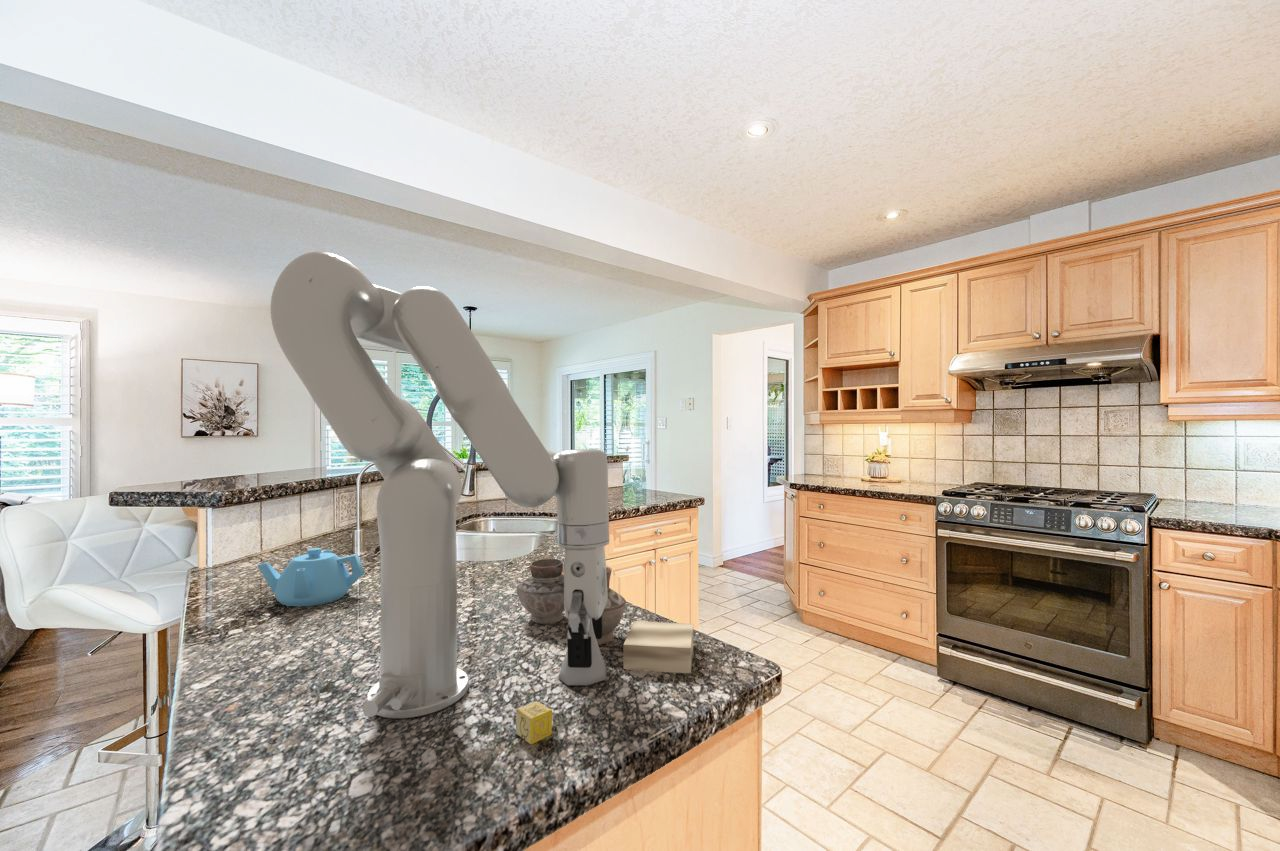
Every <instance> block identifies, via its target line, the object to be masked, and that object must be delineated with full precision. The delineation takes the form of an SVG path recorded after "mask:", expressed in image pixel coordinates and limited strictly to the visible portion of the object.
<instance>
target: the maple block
mask: <svg viewBox="0 0 1280 851" xmlns="http://www.w3.org/2000/svg"><path fill="white" fill-rule="evenodd" d="M622 646H623V650H622V651H623V659H622V660H623V669H622V670H624V669H627V670H626V671H641V670H647V671H646V672H658V671H660V673H673V674H674V673H675V674H676V673H677V674H679V673H680V674H691V673H692V665H693V664H692V663H693V654H694V623H688V622H687V623H685V622H662V621H661V622H660V621H644V620H643V621H642V620H641V621H640V620H633V621H632V624H631V626H630V629H629V631H628V634H627V636H626V638H625V641H624V643H623V645H622Z"/></svg>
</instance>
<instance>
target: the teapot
mask: <svg viewBox="0 0 1280 851" xmlns="http://www.w3.org/2000/svg"><path fill="white" fill-rule="evenodd" d="M322 551H323V552H322ZM332 551H333V550H332V549H324V550H323V548H321V547H313V548H307V550H306V553H307V554H302V555H298V556H295V557H293V558H292V559H290V561H289V562H288V564H286V567H285V568H284V569H283V571H281V574H280V573H279V572H278V571H277V570H276V569H275V568H274V567H273V566H272V565H271V564H270V563H269V562H263V563H259V564H258V565H257V567H258V569H259V570H260V572H261V574H262V576H263V577H264V579H265V581H266V583H267V584H268V586H269V588H270V589H271V591H272V593H273V594H274V597H275V600H276V601H278V603H280V604H281V605H283V606H284V605H286V606H285V607H288V606H307V607H313V606H314V605H315V606H319V605H320V606H321V605H324V604H329V603H332V602H335V601H337V600H340V599H342V598H343V597H344V596H345V595H346V594H347V592H349V590H350V589H351V587H352V585H353V584H355V583H356V582H357V581H358V580H359V579H360V578H361V577H362V576H363V575H365V574H366V573H365V570H364V566H363V565H362V561H361V559H360V556H359V554H358V553H355V554H351V555H346V556H342V557H339V556H338V555H337V554H336V553H334V552H332ZM346 563H349V565H350V569H351V571H352V573H351V574H350V572H349V571H348V568H347V566H346V565H345V564H346ZM341 597H342V598H341Z"/></svg>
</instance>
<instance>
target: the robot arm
mask: <svg viewBox="0 0 1280 851" xmlns="http://www.w3.org/2000/svg"><path fill="white" fill-rule="evenodd" d="M270 298H271V299H270V319H271V324H272V329H273V331H274V336H275V338H276V340H277V343H278V344H279V347H280V348H281V351H282V352H283V354H284V356H285V358H286V359H287V361H288V363H289V364H290V366H291V368H292V369H293V371H294V372H295V373H296V374H297V377H298V378H299V380H300V381H301V383H302V384H303V385H304V386H305V388H306V390H307V391H308V393H309V395H310V397H311V399H312V400H313V401H314V404H315V405H316V406H317V408H318V410H320V412H321V414H322V415H323V417H324V418H325V420H326V421H327V423H328V424H329V425H330V427H331V428H332V430H333V432H334V434H335V435H336V437H337V438H338V440H339V442H340V444H341V445H342V447H343V448H344V449H345V450H346V451H347V453H348V454H350V455H352V457H355V458H356V459H359V460H361V461H363V462H370V463H373V465H374V467H375V468H376V469H377V471H378V472H379V474H380V475H381V477H382V478H383V481H382V483H381V485H380V487H379V490H378V494H377V498H376V499H377V500H376V519H377V527H378V528H377V530H378V538H379V540H378V541H379V554H380V555H379V560H380V562H379V563H380V567H379V568H380V571H379V573H380V575H379V577H380V581H379V582H380V648H379V649H380V655H379V656H380V658H379V659H380V663H379V664H380V665H379V666H380V667H379V668H380V669H379V670H380V672H379V673H380V674H379V677H378V682H377V683H376V684H374V685H373V686H371V689H370V690H369V691H368V693H367V695H366V701H365V702H363V705H362V712H363V714H364V715H365V716H366V717H369V718H372V717H375V716H379V717H381V718H386V719H409V718H415V717H422V716H427V715H429V714H433V713H435V712H439V711H441V710H444V709H446V708H448V707H450V706H452V705H453V704H455V703H457V702H458V701H459V700H461V699H462V698H463V697H464V695H465V694H466V693H467V692H468V689H469V681H470V680H469V679H470V678H469V675H468V674H467V673H466V672H465V671H464V670H462V669H460V668H458V574H457V573H458V568H457V566H458V565H457V563H458V562H457V561H458V558H457V557H458V555H457V554H458V553H457V551H458V550H457V505H458V504H459V502H460V500H461V497H462V493H463V483H462V479H461V475H460V473H459V471H458V470H457V468H456V466H455V464H454V463H453V461H452V460H451V458H450V457H449V455H448V454H447V452H446V451H445V449H444V448H443V446H442V445H441V443H440V441H439V440H438V439H437V437H436V435H435V434H434V432H433V431H432V429H431V428H430V427H429V425H428V423H427V422H426V420H425V418H424V417H423V416H422V415H421V414H420V412H419V411H418V410H417V408H416V407H415V406H413V405H412V404H411V403H410V402H408V401H407V400H406V399H403V398H401V397H399V396H397V395H396V394H395V393H394V392H393V390H392V388H390V386H389V385H388V384H387V382H386V381H385V380H384V378H383V376H382V375H381V373H380V372H379V370H378V369H377V368H376V365H375V363H374V362H373V360H372V359H371V357H370V355H369V354H368V352H367V351H366V349H365V348H364V347H363V346H362V344H361V343H360V342H359V340H358V339H360V340H363V341H366V342H371V343H375V344H378V345H382V346H385V347H388V348H391V349H396V350H399V351H402V352H406V353H410V355H411V356H412V357H413V359H414V360H415V362H416V363H417V365H418V366H419V368H420V369H421V370H422V372H423V374H424V376H425V377H426V379H427V380H428V381H429V383H430V384H431V386H432V387H433V389H434V391H435V392H436V393H437V395H438V397H439V398H440V400H441V402H442V403H443V405H444V406H445V407H446V409H447V411H448V412H449V415H450V416H451V417H452V418H453V420H454V421H455V422H456V423H457V425H458V426H459V427H460V428H461V430H462V432H463V433H464V435H465V436H466V437H467V439H468V441H469V442H470V443H471V445H472V447H473V448H474V450H475V451H476V453H477V454H478V456H479V457H480V460H481V461H482V463H483V464H484V465H485V467H486V469H488V471H489V473H490V474H491V477H493V479H494V480H495V482H496V483H497V485H498V486H499V488H500V489H501V491H502V492H503V494H504V495H505V496H506V497H507V499H508V500H509V501H510V502H512V503H513V504H515V505H517V506H519V507H524V508H537V507H540V506H543V505H544V504H546V503H547V502H549V501H550V500H551V499H552V498H553V496H554V497H555V499H556V508H557V509H556V513H557V514H556V519H557V520H556V521H557V523H556V524H557V530H556V532H557V546H558V547H559V548H562V549H564V555H563V556H564V557H563V575H564V608H565V610H564V615H565V618H566V619H568V625H567V635H566V636H567V638H566V641H567V643H566V644H567V649H568V666H569V667H571V668H589V667H591V665H592V650H591V637H589V628H590V618H592V624H593V630H594V634H595V637H596V639H601V638H602V613H603V611H604V608H605V606H606V603H607V600H608V591H607V575H606V567H607V562H606V560H607V559H606V548H605V546H607V545H609V544H610V519H609V518H610V517H609V516H610V515H609V513H610V511H609V471H608V468H609V466H608V465H609V464H608V456H607V455H606V453H605V452H604V451H603V450H601V449H593V448H591V449H588V448H585V449H584V448H583V449H566V450H563V451H549V450H547V449H546V447H545V446H544V444H543V443H542V442H541V439H540V438H539V437H538V436H537V433H536V432H535V430H534V429H533V428H532V426H531V424H530V423H529V421H528V420H527V418H526V416H525V415H524V413H523V412H522V411H521V408H519V406H518V405H517V403H516V401H515V399H514V397H513V396H512V395H511V392H510V390H509V387H508V386H507V384H506V382H505V381H504V379H503V378H502V376H501V375H500V373H499V371H498V370H497V368H496V367H495V365H494V364H493V363H492V361H491V360H490V358H489V356H488V354H487V353H486V352H485V349H483V347H482V345H481V344H480V342H479V340H478V339H477V337H476V336H475V334H474V333H473V331H472V329H471V328H470V327H469V325H468V324H467V322H466V321H465V319H464V317H463V316H462V314H461V313H460V311H459V310H458V308H457V306H456V305H455V304H454V302H453V301H452V300H451V299H450V298H449V296H447V295H446V294H445V293H444V292H442V291H440V290H438V289H437V288H434V287H430V286H416V287H413V288H410V289H408V290H406V291H404V292H403V293H401V292H397V291H396V290H395V291H394V290H391V289H389V288H386V287H383V286H379V285H376V284H373V282H372V281H371V280H370V279H369V278H368V276H366V275H365V274H364V273H363V272H362V271H361V270H360V269H359V268H358V267H357V266H356V265H354V264H353V263H352V262H350V261H349V260H347V259H346V258H344V257H343V256H339V255H338V254H334V253H331V252H326V251H312V252H311V251H310V252H307V253H306V252H305V253H303V254H301V255H299V256H296V257H295V258H294V259H293V260H292V261H291V262H289V263H288V264H287V265H286V266H285V267H284V268H283V270H282V272H281V273H280V274H279V276H278V277H277V280H276V282H275V284H274V287H273V291H272V294H271V296H270ZM580 613H587V614H580ZM580 621H585V626H584V625H583V624H582V623H580Z"/></svg>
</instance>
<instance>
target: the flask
mask: <svg viewBox="0 0 1280 851" xmlns="http://www.w3.org/2000/svg"><path fill="white" fill-rule="evenodd" d="M580 614H587V613H580ZM580 623H582V624H583V625H584V626H585V621H580ZM589 637H591V650H592V665H591V667H589V668H571V667H569V666H568V648H567V649H566V652H565V655H564V659H563V661H562V665H561V667H560V669H559V673H558V676H557V678H558V679H559V680H560V681H562V682H563V683H564V684H565V685H567V686H590V685H594V684H597V683H600V682H602V681H605V680H607V673H608V668H607V665H606V663H605V659H604V658H603V656H602V651H601V649H600V647H599V644H598V643H597V640H596V637H595V634H594V630H593V624H592V618H590V628H589Z"/></svg>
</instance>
